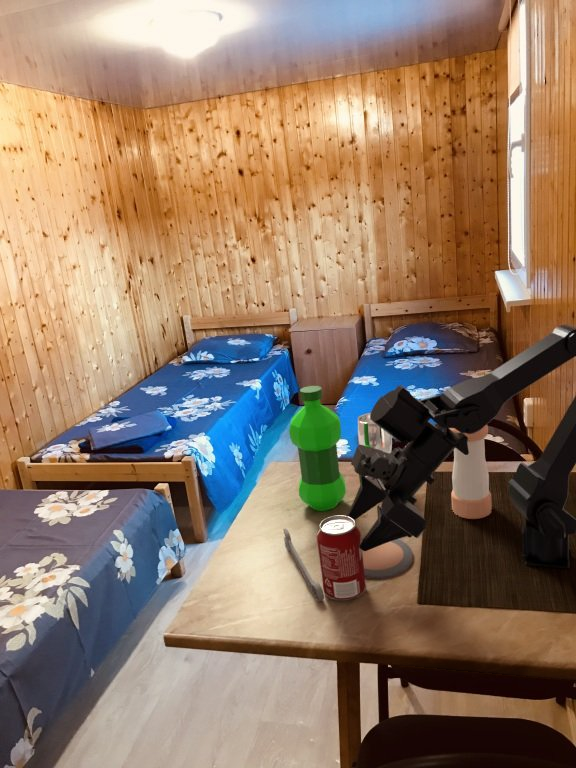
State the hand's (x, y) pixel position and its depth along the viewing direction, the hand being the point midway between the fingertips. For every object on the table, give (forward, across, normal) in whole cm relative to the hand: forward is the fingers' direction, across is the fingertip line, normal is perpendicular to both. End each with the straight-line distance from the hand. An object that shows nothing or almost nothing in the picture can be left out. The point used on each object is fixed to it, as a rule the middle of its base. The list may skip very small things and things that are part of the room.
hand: (355, 533), depth 96 cm
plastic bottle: (+8, -30, +6) cm, 31 cm away
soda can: (+9, 0, +5) cm, 10 cm away
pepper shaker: (-11, -18, +25) cm, 33 cm away
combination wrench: (+13, -8, +2) cm, 15 cm away
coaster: (+4, -8, +10) cm, 13 cm away
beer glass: (-2, -35, +16) cm, 39 cm away
